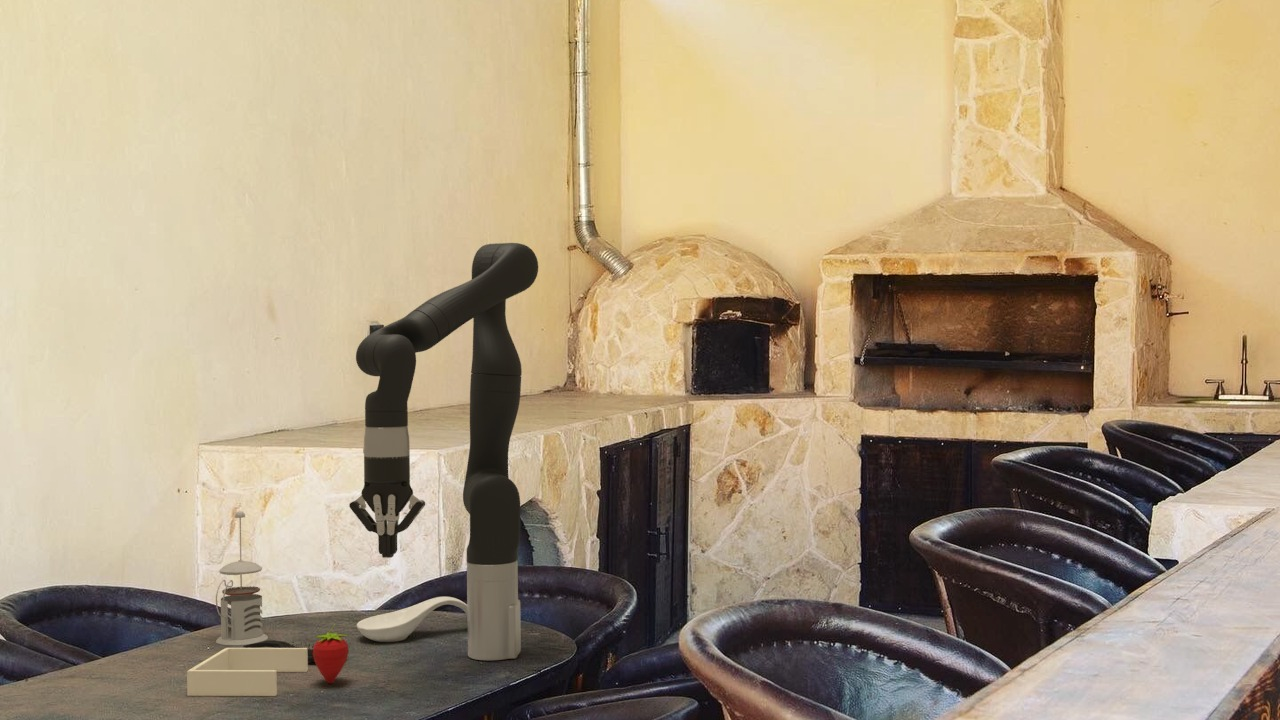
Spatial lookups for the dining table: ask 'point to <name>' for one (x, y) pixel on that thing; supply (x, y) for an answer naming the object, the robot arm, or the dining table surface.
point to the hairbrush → (280, 646)
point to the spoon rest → (402, 620)
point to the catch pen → (244, 671)
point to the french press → (240, 605)
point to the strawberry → (330, 655)
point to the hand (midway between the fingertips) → (387, 556)
